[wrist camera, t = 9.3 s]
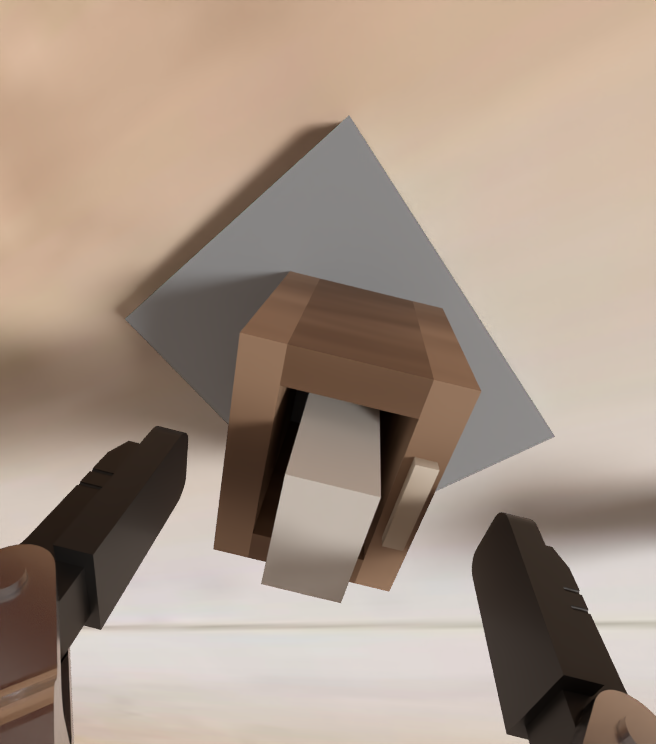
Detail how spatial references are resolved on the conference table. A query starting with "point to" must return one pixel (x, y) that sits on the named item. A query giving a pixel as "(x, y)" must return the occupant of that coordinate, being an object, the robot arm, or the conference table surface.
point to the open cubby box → (351, 384)
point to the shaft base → (337, 249)
